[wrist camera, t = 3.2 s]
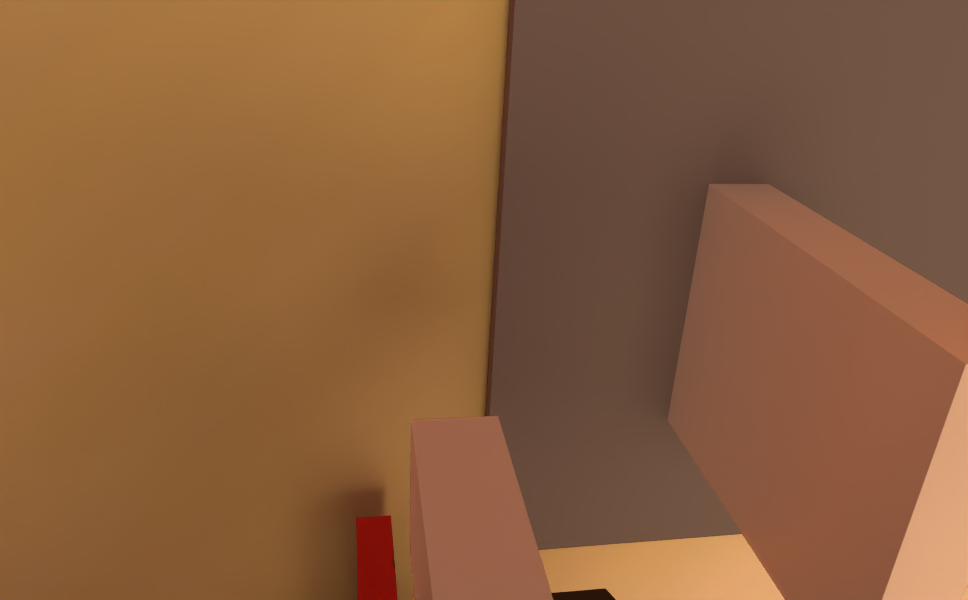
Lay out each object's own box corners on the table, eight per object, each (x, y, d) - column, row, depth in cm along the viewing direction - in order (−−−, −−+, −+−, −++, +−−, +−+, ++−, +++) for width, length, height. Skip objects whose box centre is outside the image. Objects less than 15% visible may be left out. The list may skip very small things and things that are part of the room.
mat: (478, 540, 24) (481, 554, 23) (510, -23, 17) (516, -20, 17) (1043, 497, 27) (1057, 509, 27) (1258, 11, 20) (1282, 13, 20)
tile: (667, 420, 22) (847, 695, 14) (709, 183, 19) (965, 364, 11) (724, 417, 23) (932, 685, 15) (774, 183, 20) (1070, 359, 12)
